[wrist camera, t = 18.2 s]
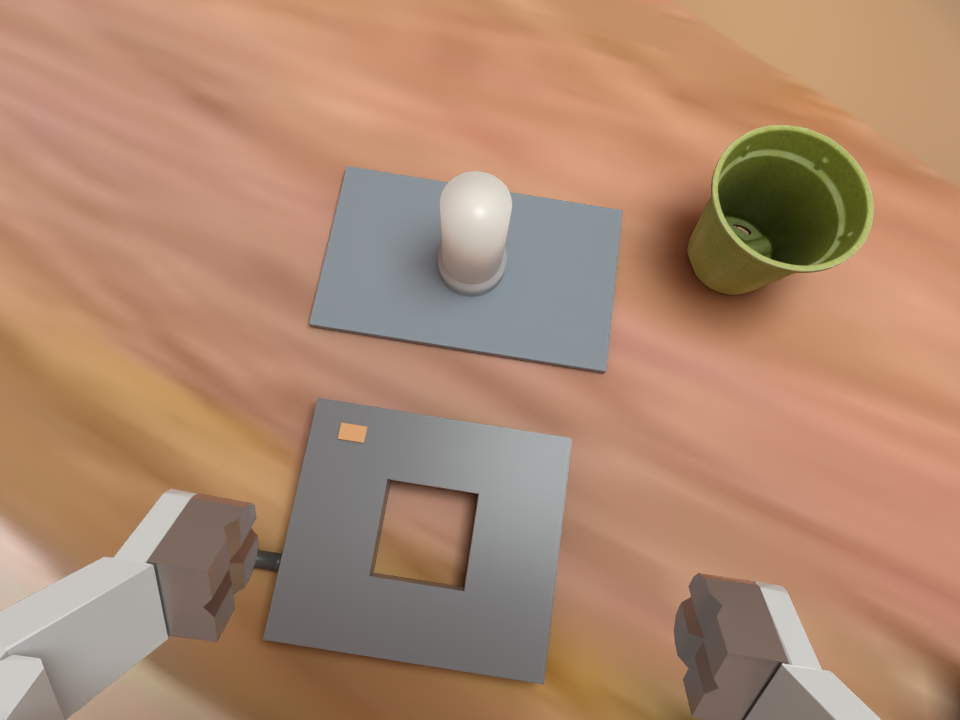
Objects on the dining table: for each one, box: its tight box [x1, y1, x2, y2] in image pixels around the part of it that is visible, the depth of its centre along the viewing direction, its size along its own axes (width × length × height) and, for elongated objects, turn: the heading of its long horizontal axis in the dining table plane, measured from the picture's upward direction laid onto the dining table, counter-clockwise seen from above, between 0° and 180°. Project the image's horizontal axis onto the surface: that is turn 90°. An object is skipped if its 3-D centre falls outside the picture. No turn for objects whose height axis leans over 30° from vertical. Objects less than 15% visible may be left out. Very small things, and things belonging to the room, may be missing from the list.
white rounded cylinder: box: [438, 171, 512, 297], centre depth 37 cm, size 5×5×8 cm
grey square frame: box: [254, 398, 572, 684], centre depth 36 cm, size 21×14×2 cm, turn 81°
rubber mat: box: [309, 166, 623, 373], centre depth 42 cm, size 20×12×1 cm, turn 81°
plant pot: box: [687, 125, 874, 295], centre depth 39 cm, size 9×9×9 cm
